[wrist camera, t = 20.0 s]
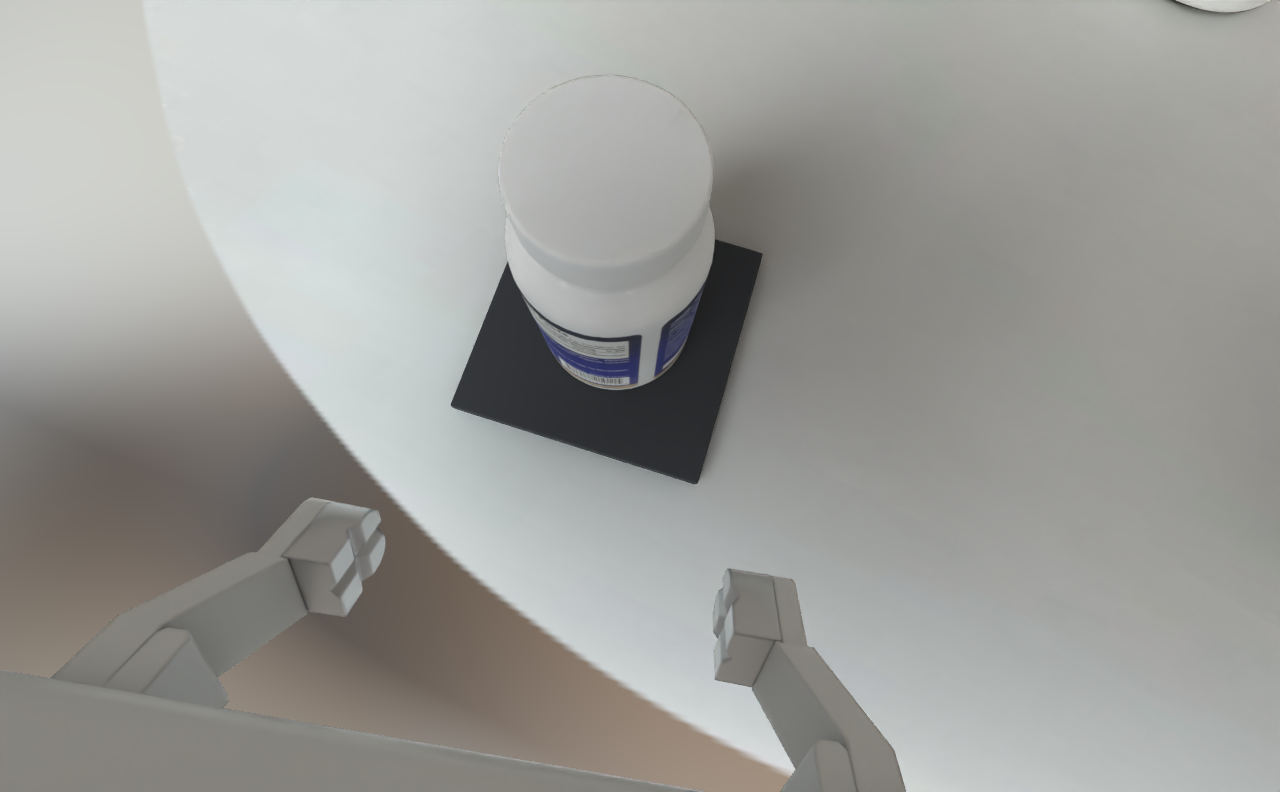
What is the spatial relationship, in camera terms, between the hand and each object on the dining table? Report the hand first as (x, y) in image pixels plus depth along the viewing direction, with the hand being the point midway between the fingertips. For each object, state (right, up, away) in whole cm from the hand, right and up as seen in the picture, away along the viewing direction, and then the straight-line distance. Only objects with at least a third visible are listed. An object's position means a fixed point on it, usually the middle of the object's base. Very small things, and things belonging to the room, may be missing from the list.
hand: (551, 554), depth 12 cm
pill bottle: (+1, +7, +9) cm, 11 cm away
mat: (+1, +6, +9) cm, 11 cm away
